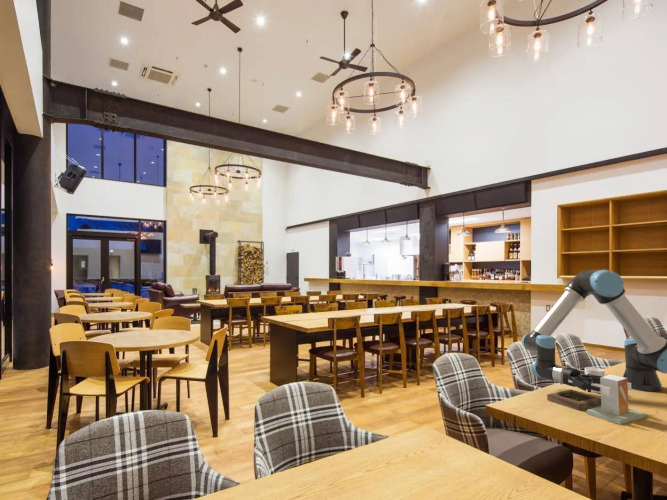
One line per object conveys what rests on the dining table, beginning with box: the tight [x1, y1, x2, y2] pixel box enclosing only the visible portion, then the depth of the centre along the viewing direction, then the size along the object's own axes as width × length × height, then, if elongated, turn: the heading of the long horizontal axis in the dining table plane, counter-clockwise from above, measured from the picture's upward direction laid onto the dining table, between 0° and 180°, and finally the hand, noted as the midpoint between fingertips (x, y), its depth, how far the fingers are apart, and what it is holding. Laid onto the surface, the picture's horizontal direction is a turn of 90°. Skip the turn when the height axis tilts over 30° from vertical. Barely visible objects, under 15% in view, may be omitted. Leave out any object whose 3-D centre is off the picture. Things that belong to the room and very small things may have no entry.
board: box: [585, 405, 645, 425], centre depth 152 cm, size 16×12×2 cm
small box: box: [600, 374, 629, 415], centre depth 153 cm, size 8×6×13 cm
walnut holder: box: [546, 389, 601, 412], centre depth 168 cm, size 16×14×2 cm
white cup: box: [584, 366, 606, 394], centre depth 183 cm, size 8×8×10 cm
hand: (620, 389), depth 150 cm, fingers open, 13 cm apart
